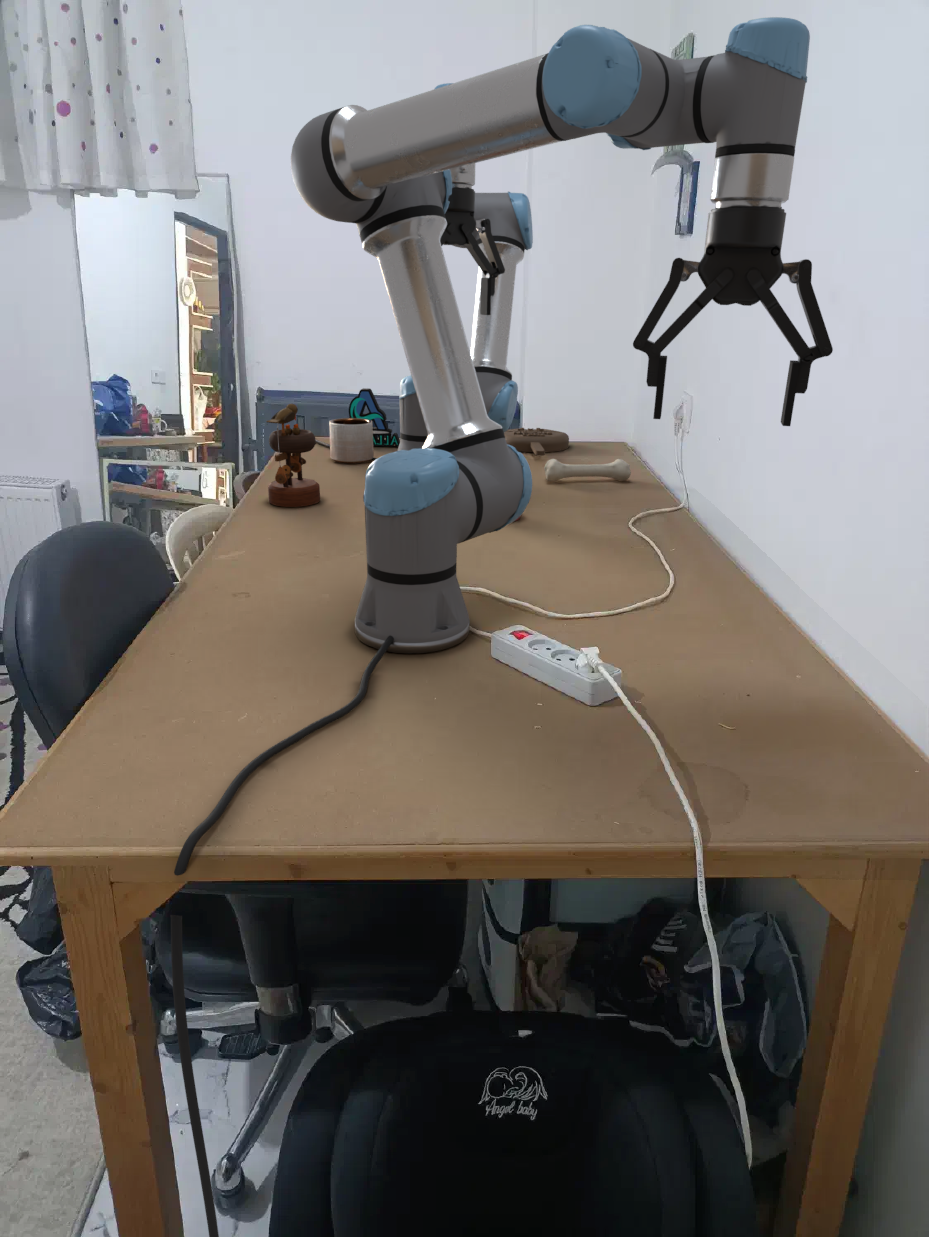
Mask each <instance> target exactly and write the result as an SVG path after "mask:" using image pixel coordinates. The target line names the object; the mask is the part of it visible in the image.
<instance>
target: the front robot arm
mask: <svg viewBox="0 0 929 1237" xmlns="http://www.w3.org/2000/svg"><path fill="white" fill-rule="evenodd" d="M810 40H811V34H810V30H809V29H808V27H807V25H806V24H804V23H803V22H802V21H800V20H798V19H795V18H791V17H781V16H780V17H777V16H775V17H774V16H772V17H771V16H770V17H760V18H755V19H750V20H748V21H746V22H740V23H738V24H736V25H735V26H733V28H732V29H731V30H730V32H729V34H728V39H727V44H726V45H725V49H724V52H722V53H717V54H713V55H709V56H701V57H700V56H699V57H692V58H681V59H673V58H672V57H669V56H667V55H665V54H663V53H660V52H658V51H656V50H654V49H651V48H650V47H647V46H645V45H642V44H641V43H639V42H636V41H634V40H632V39H630V38H629V37H626V35H624V34H622V33H621V32H619V31H617V30H616V29H614V28H607V27H605V26H598V25H593V24H580V25H577V26H574V27H572V28H570V29H567V31H565V32H564V33H563V34H562V35H561V36H560V37H559V38H558V40H557V41H556V42H555V43H554V44H553V45H552V46H551V48H550V49H549V52H547V53H545V54H541V55H538V56H534V57H532V58H529V59H526V60H523V61H519V62H516V63H514V64H509V65H507V66H504V67H501V68H497V69H494V70H491V71H488V72H485V73H482V74H478V75H475V76H473V77H469V78H465V79H464V80H460V81H456V82H452V83H453V84H450V85H447V86H443V87H440V88H437V89H435V88H434V89H431V90H427V91H425V92H422V93H418V94H415V95H412V96H409V97H406V98H403V99H400V100H397V101H393V102H390V103H387V104H383V105H381V106H378V107H375V108H372V109H371V108H370V109H366V108H364V106H361V105H358V104H350V105H345V106H342V107H340V108H336V109H333V110H330V111H327V112H325V113H321V114H319V115H317V116H315V117H313V118H312V119H310V120H309V121H307V122H306V123H305V124H304V125H303V126H302V128H301V129H300V130H299V131H298V133H297V135H296V137H295V139H294V141H293V145H292V147H291V153H290V171H291V177H292V181H293V184H294V186H295V189H296V190H297V192H298V194H299V195H300V197H301V199H302V200H303V201H304V203H305V204H306V205H307V206H308V207H309V208H310V209H311V210H312V211H313V212H314V213H316V214H318V215H320V216H321V217H323V218H324V219H328V220H331V221H334V222H338V223H339V222H340V223H349V224H355V225H356V228H357V232H358V236H359V238H360V242H361V245H362V248H363V251H364V252H366V253H367V254H369V255H371V256H373V257H375V258H376V259H377V260H378V263H379V267H380V270H381V274H382V277H383V278H382V279H383V281H384V285H385V288H386V291H387V295H388V298H389V302H390V306H391V309H392V314H393V317H394V320H395V323H396V326H397V330H398V334H399V338H400V341H401V345H402V348H403V351H404V355H405V358H406V362H407V366H408V370H409V373H410V376H412V380H413V383H414V387H415V390H416V394H417V397H418V401H419V404H420V408H421V411H422V415H423V418H424V422H425V425H426V429H427V432H428V436H427V439H426V441H425V443H424V445H423V447H422V448H415V449H411V450H409V451H407V450H400V451H397V450H396V451H392V452H389V453H386V454H383V455H381V456H379V457H377V459H376V460H375V461H373V460H372V462H371V463H370V464H369V466H367V469H366V471H365V475H364V491H363V496H362V498H363V500H362V501H363V505H364V522H365V523H364V525H365V526H364V527H365V550H366V579H365V584H364V586H363V589H362V592H361V596H360V600H359V602H358V606H357V609H356V612H355V618H354V633H355V636H356V638H357V639H358V640H359V641H360V642H362V643H363V644H365V645H367V646H368V647H371V648H374V649H377V651H376V653H375V655H373V657H372V659H371V660H370V662H369V663H368V665H367V666H366V668H365V669H364V671H363V674H362V676H361V679H360V684H359V689H358V690H357V693H356V695H355V696H354V697H353V699H352V700H350V702H348V703H347V704H346V705H344V706H343V707H341V708H339V709H337V710H335V711H334V712H332V713H330V714H328V715H326V716H324V717H322V718H319V719H318V720H316V721H314V722H312V723H310V724H308V725H307V726H305V727H303V728H301V729H300V730H298V731H297V732H295V733H292V734H291V735H289V736H288V737H286V738H284V739H282V740H281V741H278V742H277V743H275V744H274V745H273V746H270V747H269V748H267V749H266V750H264V751H263V752H262V753H260V754H259V755H257V756H256V757H255V758H254V759H252V760H251V761H250V762H249V763H248V764H247V765H246V766H244V767H243V769H242V770H241V771H240V772H239V773H238V774H237V775H236V776H235V778H234V779H233V780H232V781H231V783H230V784H229V786H228V787H227V789H226V790H225V791H224V793H223V794H222V796H221V798H220V799H219V800H218V802H217V803H216V805H215V806H214V808H213V809H212V811H210V813H209V814H208V816H206V817H205V819H204V820H203V821H202V822H201V823H199V824H198V825H197V827H195V828H194V829H193V830H192V831H191V833H189V836H188V837H187V838H186V840H185V842H184V843H183V846H182V848H181V849H180V852H179V855H178V857H177V860H176V864H175V868H174V872H173V874H174V876H181V875H183V874H185V873H186V871H187V869H188V866H189V862H190V859H191V857H192V855H193V851H194V849H195V847H196V846H197V844H198V842H199V841H200V839H201V838H202V837H203V836H204V835H205V834H206V833H207V832H208V831H209V830H210V829H211V828H212V827H213V826H214V825H215V824H217V821H219V819H220V818H221V817H222V815H223V814H224V813H225V811H226V809H227V808H228V806H229V805H230V803H231V802H232V800H233V798H234V797H235V795H236V794H237V792H238V791H239V789H240V787H241V786H242V785H243V783H244V782H245V781H246V780H247V778H249V776H251V774H252V773H253V772H255V771H256V770H257V769H258V768H259V767H260V766H262V765H264V763H266V762H267V761H268V760H269V759H270V760H271V758H272V757H274V756H275V755H277V754H279V753H281V752H282V751H284V750H285V749H287V748H289V747H290V746H293V745H295V744H296V743H298V742H300V741H301V740H303V739H304V738H306V737H308V736H309V735H311V734H313V733H315V732H316V731H318V730H320V729H322V728H324V727H326V726H327V725H329V724H332V723H334V722H336V721H337V720H339V719H341V718H343V717H345V716H347V715H348V714H349V713H351V712H352V711H353V710H354V709H356V708H357V706H359V705H360V704H361V703H362V701H363V700H364V698H365V696H366V694H367V690H368V687H369V686H368V685H369V680H370V678H371V675H372V673H373V672H374V670H375V669H376V667H377V666H378V664H379V663H380V661H381V660H382V658H383V657H384V656H385V655H386V653H387V652H390V653H396V654H397V653H398V654H425V653H433V652H439V651H443V650H446V649H449V648H452V647H455V646H457V645H458V644H460V643H462V642H463V641H464V640H466V639H467V637H468V636H469V634H470V616H469V612H468V608H467V606H466V601H465V599H464V596H463V593H462V589H461V586H460V583H459V581H458V577H457V561H458V560H457V559H458V558H457V557H458V556H457V554H458V545H459V544H461V543H465V542H467V541H469V540H473V539H475V538H478V537H480V536H484V535H486V534H491V533H493V532H498V531H500V530H503V529H504V528H505V527H506V526H509V525H510V524H512V523H513V522H516V521H515V520H516V519H518V518H519V517H520V518H521V516H522V515H523V513H524V512H525V510H526V508H527V506H528V505H529V503H530V500H531V497H532V493H533V492H532V491H533V476H532V471H531V467H530V464H529V462H528V460H527V459H526V457H525V455H524V454H523V453H522V452H520V451H517V450H516V448H515V447H513V446H511V445H508V444H507V443H506V439H505V435H504V432H503V428H502V426H501V425H499V424H498V423H496V422H494V421H493V420H491V419H490V418H489V417H488V415H487V412H486V408H485V404H484V401H483V397H482V393H481V390H480V386H479V382H478V379H477V375H476V371H475V368H474V364H473V360H472V357H471V353H470V346H469V343H468V339H467V335H466V331H465V328H464V324H463V320H462V315H461V313H460V309H459V305H458V302H457V298H456V295H455V290H454V287H453V284H452V280H451V276H450V273H449V269H448V264H447V261H446V257H445V254H444V251H443V245H442V246H441V242H440V239H441V236H442V234H443V233H444V231H445V229H446V227H447V221H446V217H445V213H446V211H447V209H448V206H449V203H450V202H449V201H448V198H449V195H451V194H452V177H451V171H450V169H453V168H457V167H461V166H465V165H469V164H473V163H475V164H477V163H480V162H481V163H482V162H485V161H489V160H493V159H497V158H501V157H505V156H508V155H513V154H517V153H521V152H525V151H529V150H532V149H536V148H542V147H544V146H549V145H552V144H557V143H560V142H566V141H571V140H576V139H579V138H583V137H584V138H585V137H588V136H592V135H595V134H606V135H607V137H609V138H610V141H611V143H612V144H613V145H614V146H615V147H616V148H619V149H624V150H625V149H627V150H628V149H637V150H642V151H647V150H651V149H653V148H663V147H675V146H685V145H695V144H696V145H697V144H714V143H716V145H715V155H714V163H713V171H712V180H711V181H712V182H711V189H710V197H709V201H710V202H711V203H712V204H715V206H714V207H715V208H712V209H711V210H710V212H709V213H708V214H707V215H708V216H707V223H706V234H705V242H704V252H703V255H702V258H701V260H700V261H694V260H686V259H683V258H682V257H676V258H675V259H673V261H672V265H671V268H670V274H669V278H668V281H667V282H666V284H665V286H664V288H663V290H662V291H661V293H660V295H659V296H658V299H657V300H656V301H655V303H654V305H653V307H652V309H651V310H650V312H649V314H648V315H647V317H646V319H645V321H644V323H643V324H642V326H641V328H640V329H639V331H638V333H637V334H636V336H635V338H634V340H633V342H632V346H633V349H635V350H637V351H641V352H642V353H645V354H646V355H647V358H648V359H647V360H648V361H647V371H646V381H645V382H646V385H647V387H650V388H651V387H652V388H653V387H654V388H655V399H654V408H653V420H661V419H662V412H663V402H664V391H665V383H666V373H667V372H666V371H667V364H668V363H667V362H668V355H662V352H663V351H664V350H665V349H666V348H667V347H668V346H669V345H670V344H671V343H672V341H674V340H675V339H676V337H677V336H679V335H680V334H681V332H682V331H683V330H684V329H685V328H686V327H687V326H688V325H689V324H690V323H691V322H692V321H693V320H694V319H695V318H696V317H697V316H698V315H699V313H701V311H702V310H703V309H704V308H706V306H708V304H709V303H710V302H711V301H713V302H714V303H716V304H718V305H720V306H729V305H735V304H737V305H741V306H746V307H747V306H749V307H752V306H753V305H755V304H758V303H759V302H760V303H761V304H762V306H763V307H764V309H765V310H766V312H767V313H768V315H769V316H770V317H771V319H772V320H773V323H775V325H776V326H777V328H778V329H779V331H780V332H781V333H782V335H783V337H784V338H785V340H786V341H787V342H788V344H789V346H790V347H791V348H792V349H793V351H794V353H795V354H796V355H797V360H789V364H788V365H789V367H788V372H787V377H786V378H787V379H786V383H785V384H786V385H785V392H784V398H783V404H782V410H781V416H780V423H781V425H782V426H783V427H791V423H792V418H793V413H794V412H793V411H794V405H795V400H796V394H806V391H807V390H808V386H809V385H808V384H809V381H810V374H811V368H812V364H813V363H814V361H816V360H818V359H822V358H824V357H829V356H831V355H832V354H833V351H834V348H833V345H832V341H831V339H830V337H829V332H828V329H827V327H826V323H825V321H824V317H823V314H822V312H821V308H820V305H819V303H818V300H817V297H816V294H815V291H814V287H813V284H812V277H813V276H812V274H813V272H812V271H813V262H812V261H811V260H810V259H809V258H808V259H807V258H805V259H801V260H799V261H794V262H783V260H782V246H783V239H784V233H785V225H786V220H787V219H786V218H787V212H786V211H785V209H784V208H783V207H782V204H785V203H787V201H789V197H790V192H791V184H792V177H793V171H794V170H793V169H794V164H795V153H796V145H797V139H798V133H799V128H800V121H801V115H802V107H803V101H804V95H805V89H806V84H807V83H808V76H807V74H808V73H807V72H808V62H809V52H810ZM694 273H697V275H698V277H699V279H700V280H701V282H702V284H703V286H704V287H705V288H704V289H703V290H702V292H701V293H699V295H697V297H696V298H695V299H694V300H693V301H692V302H691V303H690V304H689V305H688V306H687V308H685V309H684V311H683V312H682V313H680V315H679V316H678V317H677V318H676V319H675V320H674V321H673V322H672V324H670V325H669V326H668V327H667V329H665V331H664V332H662V334H661V335H660V336H659V337H658V338H657V339H656V340H655V341H652V340H650V339H649V338H650V337H651V335H652V334H653V331H654V330H655V328H656V327H657V324H658V323H659V322H660V320H661V318H662V316H663V314H664V313H665V311H666V309H667V307H668V306H669V304H670V302H671V301H672V299H673V297H674V295H675V294H676V292H677V290H678V289H679V287H680V284H681V282H687V281H689V279H690V277H691V275H692V274H694ZM782 275H786V276H787V278H788V281H789V283H790V284H795V286H796V291H797V295H798V297H799V300H800V303H801V306H802V310H803V312H804V316H805V318H806V321H807V324H808V327H809V330H810V334H811V336H812V339H813V343H814V345H813V346H808V343H806V340H805V339H804V338H803V336H802V335H801V334H800V332H799V330H798V329H797V328H796V326H795V325H794V323H793V322H792V320H791V319H790V317H789V315H788V314H787V313H786V311H785V310H784V308H783V307H782V305H781V304H780V302H779V300H778V299H777V297H776V296H775V294H774V293H773V291H772V290H771V288H772V287H773V286H774V285H775V284H776V283H777V281H778V280H779V279H780V278H781V277H782ZM170 953H171V954H170V957H171V958H170V960H171V975H172V976H171V978H172V992H173V995H172V996H173V1006H174V1015H175V1024H176V1025H175V1027H176V1036H177V1043H178V1051H179V1058H180V1064H181V1070H182V1071H181V1072H182V1078H183V1079H182V1080H183V1085H184V1090H185V1097H186V1103H187V1109H188V1115H189V1120H190V1121H189V1122H190V1126H191V1132H192V1133H191V1134H192V1138H193V1143H194V1144H193V1145H194V1150H195V1156H196V1160H197V1161H196V1162H197V1167H198V1174H199V1179H200V1185H201V1192H202V1197H203V1204H204V1209H205V1210H204V1211H205V1216H206V1217H205V1218H206V1223H207V1231H208V1237H220V1235H219V1228H218V1226H219V1225H218V1219H217V1213H216V1206H215V1200H214V1194H213V1186H212V1180H211V1173H210V1169H209V1162H208V1156H207V1155H208V1154H207V1150H206V1143H205V1139H204V1131H203V1126H202V1120H201V1113H200V1108H199V1107H200V1106H199V1102H198V1094H197V1088H196V1082H195V1074H194V1067H193V1060H192V1053H191V1046H190V1038H189V1028H188V1019H187V1018H188V1017H187V1009H186V1008H187V1007H186V994H185V979H184V960H183V958H184V957H183V915H179V914H170Z"/></svg>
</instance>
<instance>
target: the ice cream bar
mask: <svg viewBox="0 0 929 1237" xmlns="http://www.w3.org/2000/svg"><path fill="white" fill-rule="evenodd" d="M504 435H505V439H506V443H507V444H508V445H511V446H513V447H515V448H516V450H517V451H518V452H521V453H522V452H523V453H533V454H534V455H535V456H539V457H541V456H545V453H552V452H553V453H554V452H560V451H564V450H567V449H568V448H569V446H570V436H569V435H568V434H567V433H566V432H563V431H559V430H554V429H547V428H541V427H536V428H533V427H532V428H530V427H528V428H527V429H526V428H525V427H520V428H511V429H510V428H509V429H508V430H507V431H505V432H504Z"/></svg>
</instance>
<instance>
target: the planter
mask: <svg viewBox="0 0 929 1237" xmlns="http://www.w3.org/2000/svg"><path fill="white" fill-rule="evenodd" d="M328 424H329V425H328V426H329V445H330V448H329V453H330V454H329V455H330V456H329V457H330V459H331V460H332V461H333V462H335V463H341V464H363V463H367V462H371V461H373V460H372V459H373V458H375V457H374V456H375V455H374V452H375V451H374V450H375V449H374V445H373V427H374V426H373V421H371V420H368V419H362V418H349V417H342V418H341V417H340V418H335V419H334V418H333V419H331V420H329V421H328Z"/></svg>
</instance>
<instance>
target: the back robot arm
mask: <svg viewBox="0 0 929 1237" xmlns="http://www.w3.org/2000/svg"><path fill="white" fill-rule="evenodd" d="M453 83H454V82H451V83H450V82H447V83H441V84H437V85H436V86H435V87H434V89H437V88H440V87H443V86H447V85H450V84H453ZM450 171H451V177H452V194H451V195H449V198H448V201H449V202H450V203H449V206H448V209H447V211H446V213H445V217H446V221H447V227H446V229H445V231H444V233H443V234H442V236H441V239H440V242H441V246H442V247H443V246H452V247H455V248H460V249H466V250H467V251H468V252H469V255H470V256H471V257H472V259H473V260H474V262H475V263H476V264H477V266H478V268H477V278H476V288H475V296H474V298H475V299H474V306H473V307H474V308H473V317H472V328H471V339H470V347H469V349H470V353H471V357H472V360H473V364H474V368H475V371H476V375H477V379H478V382H479V386H480V390H481V393H482V397H483V401H484V404H485V408H486V412H487V415H488V417H489V418H490V419H491V420H493V421H494V422H496V423H498V424H499V425H501V426H502V428H503V432H505V431H507V430H510V427H511V425H512V423H513V420H514V417H515V412H516V409H517V405H518V404H517V403H518V394H519V386H518V382H516V381H515V380H513V373H512V372H511V371H510V370H509V369H508V367H507V364H508V353H509V344H510V334H511V326H512V325H511V324H512V315H513V314H512V313H513V303H514V294H515V285H516V273H517V265H518V264H520V263H521V262H522V261H523V260H524V258H525V251H529V250H531V249H532V248H533V243H534V240H533V239H534V234H533V233H534V232H533V218H532V209H531V202H530V199H529V197H528V196H527V195H526V194H525V193H522V192H511V191H507V192H476V191H475V189H474V188H473V186H475V185H476V163H473V164H469V165H465V166H461V167H457V168H453V169H450ZM398 400H399V439H400V444H399V447H397V450H396V451H400V450H407V451H409V450H411V449H415V448H422V447H423V445H424V443H425V441H426V439H427V436H428V432H427V429H426V425H425V422H424V418H423V415H422V411H421V408H420V404H419V401H418V397H417V394H416V390H415V387H414V383H413V380H412V376H411V375H406V376H405V377H403V378H402V379H401V381H400V383H399V396H398ZM315 444H319V445H322V446H324V447H327V448H329V449H330V443H326V442H324V441H321V440H318V439H316V443H315ZM377 458H378V457H377ZM377 458H376V457H373V459H372V460H371V461H372V462H373V461H375V460H376V459H377Z"/></svg>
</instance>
